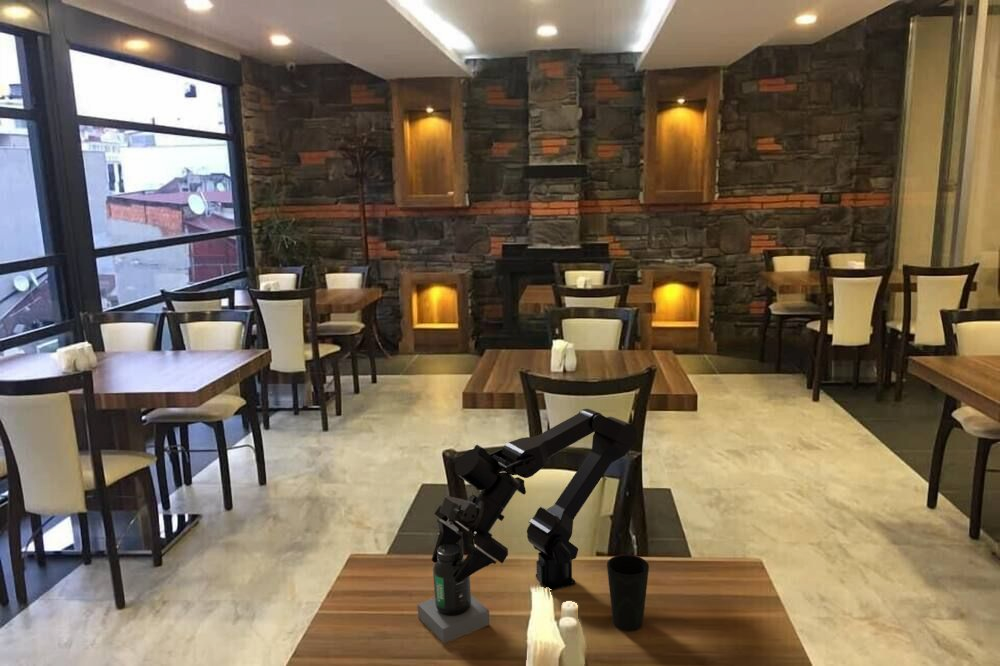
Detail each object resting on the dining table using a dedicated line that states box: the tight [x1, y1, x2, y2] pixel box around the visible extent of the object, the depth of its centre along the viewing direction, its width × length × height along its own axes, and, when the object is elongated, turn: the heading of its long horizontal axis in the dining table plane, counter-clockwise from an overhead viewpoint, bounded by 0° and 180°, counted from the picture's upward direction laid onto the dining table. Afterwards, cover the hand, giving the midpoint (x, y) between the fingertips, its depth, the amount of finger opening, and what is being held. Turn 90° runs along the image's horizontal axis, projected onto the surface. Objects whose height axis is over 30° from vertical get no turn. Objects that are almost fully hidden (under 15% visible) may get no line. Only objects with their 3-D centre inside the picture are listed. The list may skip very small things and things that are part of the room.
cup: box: [606, 554, 650, 632], centre depth 139 cm, size 8×8×12 cm
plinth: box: [417, 594, 491, 645], centre depth 143 cm, size 10×10×3 cm
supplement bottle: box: [432, 543, 472, 616], centre depth 141 cm, size 7×7×12 cm
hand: (444, 571), depth 140 cm, fingers open, 8 cm apart
